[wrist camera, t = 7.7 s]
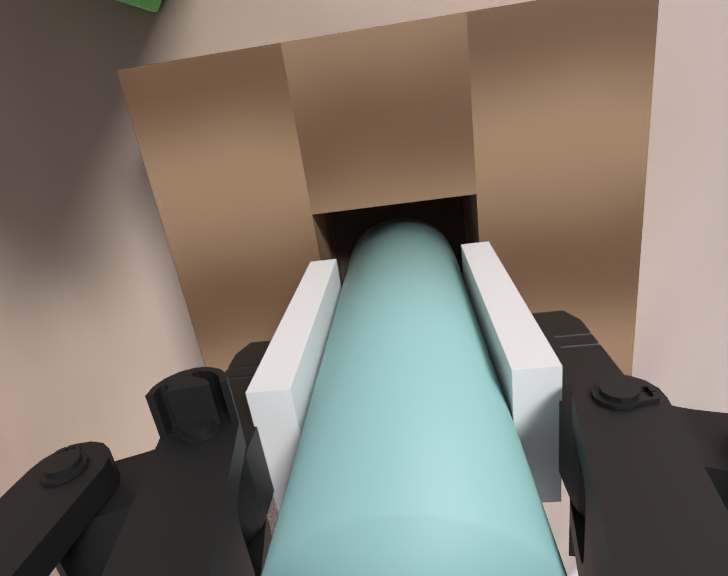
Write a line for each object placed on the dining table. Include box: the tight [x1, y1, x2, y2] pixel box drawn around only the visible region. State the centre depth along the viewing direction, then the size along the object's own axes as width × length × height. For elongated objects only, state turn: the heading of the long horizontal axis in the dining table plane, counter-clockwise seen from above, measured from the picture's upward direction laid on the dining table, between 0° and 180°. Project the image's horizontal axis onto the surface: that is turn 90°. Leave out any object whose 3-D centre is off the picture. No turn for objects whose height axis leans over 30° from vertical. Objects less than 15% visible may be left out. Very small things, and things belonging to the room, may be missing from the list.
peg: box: [261, 217, 567, 576], centre depth 11 cm, size 4×4×12 cm
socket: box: [116, 0, 659, 376], centre depth 17 cm, size 14×14×4 cm
